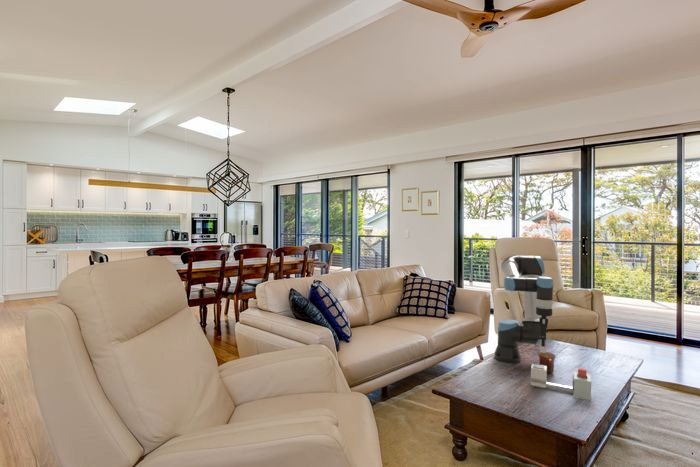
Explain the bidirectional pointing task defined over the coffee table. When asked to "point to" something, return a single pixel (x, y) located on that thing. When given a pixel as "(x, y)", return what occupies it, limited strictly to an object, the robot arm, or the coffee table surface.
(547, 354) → the mug
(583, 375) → the button
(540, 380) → the cream and grey block
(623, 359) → the coffee table surface
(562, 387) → the rail
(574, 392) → the end cabinet
